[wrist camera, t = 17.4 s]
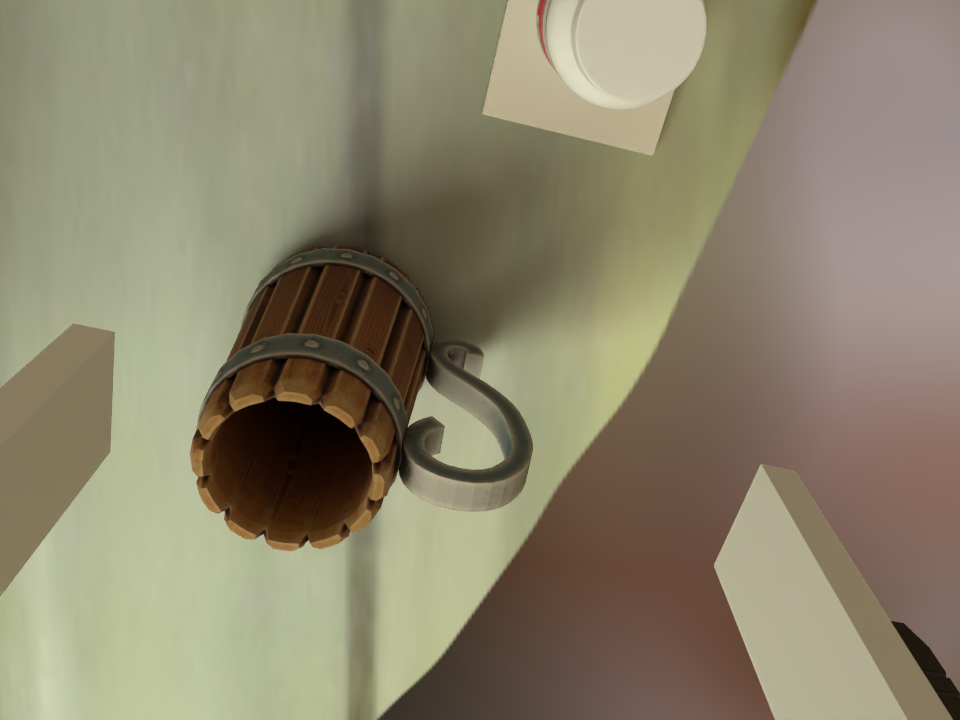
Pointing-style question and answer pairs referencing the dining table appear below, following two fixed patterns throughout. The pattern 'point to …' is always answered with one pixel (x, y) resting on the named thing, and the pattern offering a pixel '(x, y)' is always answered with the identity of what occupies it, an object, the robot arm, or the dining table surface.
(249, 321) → the mug
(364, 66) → the dining table surface
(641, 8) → the pill bottle
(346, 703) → the dining table surface
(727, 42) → the dining table surface
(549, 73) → the pad
